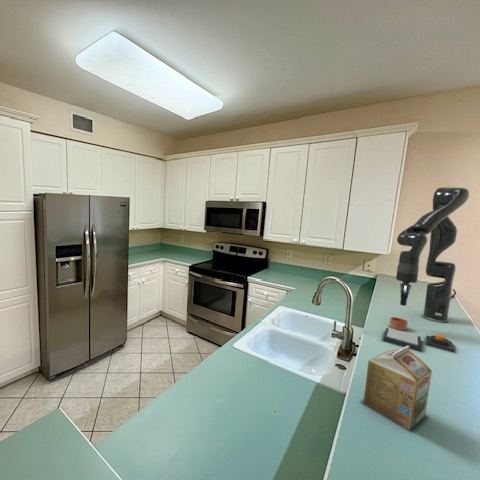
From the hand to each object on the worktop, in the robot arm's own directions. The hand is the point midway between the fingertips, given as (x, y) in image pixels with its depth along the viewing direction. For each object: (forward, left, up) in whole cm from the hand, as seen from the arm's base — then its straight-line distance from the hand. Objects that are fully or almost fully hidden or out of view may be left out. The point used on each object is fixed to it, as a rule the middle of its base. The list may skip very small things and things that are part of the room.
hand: (403, 304), depth 127 cm
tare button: (+9, +13, -10) cm, 19 cm away
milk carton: (+77, +1, -13) cm, 78 cm away
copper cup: (0, -1, -13) cm, 13 cm away
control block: (+9, +13, -13) cm, 20 cm away
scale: (+17, +1, -13) cm, 21 cm away
